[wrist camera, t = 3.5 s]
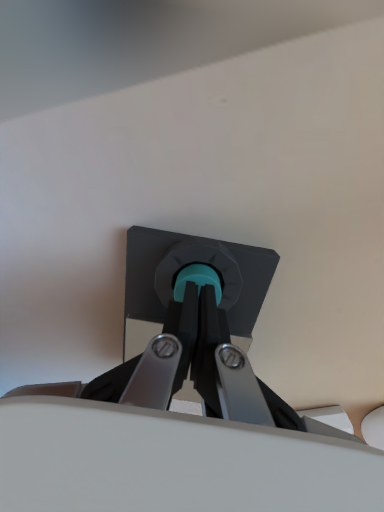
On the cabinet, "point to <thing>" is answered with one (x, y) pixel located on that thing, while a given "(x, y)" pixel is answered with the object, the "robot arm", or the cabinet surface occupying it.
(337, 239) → the cabinet surface
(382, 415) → the cup
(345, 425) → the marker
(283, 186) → the cabinet surface
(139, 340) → the pan
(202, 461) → the robot arm
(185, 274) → the button
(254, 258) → the scale
